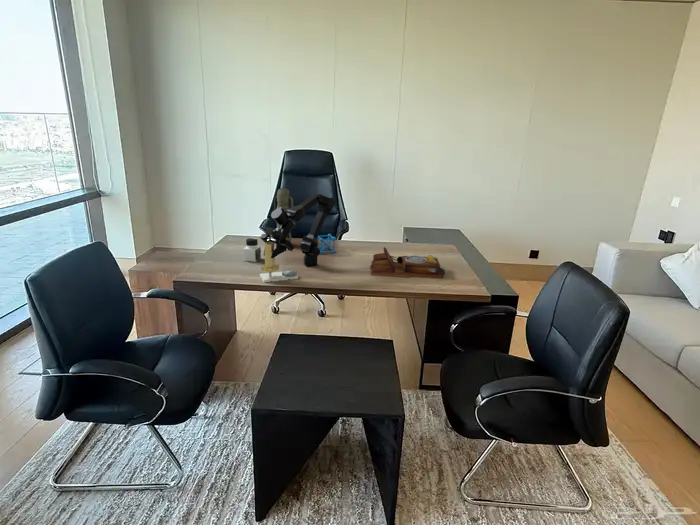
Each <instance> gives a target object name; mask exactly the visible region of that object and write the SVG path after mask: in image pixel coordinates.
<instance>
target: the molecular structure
mask: <svg viewBox="0 0 700 525" xmlns="http://www.w3.org/2000/svg"><path fill="white" fill-rule="evenodd" d="M323 237H327V238H323ZM336 240H337V237H336V236H332V234H331V233H328V234H326V235H323V234H322V235H318V238H317V241H318V242H320V246H319V245H318V246H317V248H318V249H319V250H320V255H323V254H324V253H326V254H327V253H332V254H335V253H336V249H335V242H336ZM331 242H332V246H331ZM324 249H325V250H326V249H327V250H326V251H325V250H324Z"/></svg>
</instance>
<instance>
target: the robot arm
mask: <svg viewBox="0 0 700 525" xmlns="http://www.w3.org/2000/svg"><path fill="white" fill-rule="evenodd" d="M335 204H336V201H335V199H334V198H333V197H328V196H325V195H323V194H322V193H316V192H314V193H313V194H312V195H311V196H310V197H308V198H306V199H305V200H304V201H302V202H301V203H299V205H295V206H294V205H293V207H291V206H290V208H289V209H288V210H287V211H284V209H283V208H282V207H279V208H278V209H276V210H274V209H273V211H272V212H271V213H270V217H271V218H272V219H273V220H274V221H275V223H276V224H279V225H280V227H279V228H277V227H276V228H273V227H269V226H267V228H266V230H265V233H262V234H261V235H260V237H259V238H260V239H261V241H263V242H264V244H265V243H267V242H273V243H274V245H275V247H274V252H273V254H272V256H271V258H272V259H273V258H274V257H275V258H276V257H277V256H279V255H280V254H284V253H285V252H287V251H289V252H293V250H294V249H295V246H294V244H293V243H292V241H291V242H290V241H288V240H286V238H289V237H290V236H289V233H292V232H291V231H292V230H293V228H294V229H297V228H298V226H297V222H300V221H301V220H302V219H303V218H304V217H305V214H306V213H307V212H308V211H309V210H310V209H312V208H314V206H316V205H317V209H318V211H317V213H316V216H315V218H314V220H313V223H312V225H311V228H310V231H309V233H308V234H307V235H306V236H303V237H302V239H301V241H300V246H299V247H300V249H301V252H302V254H304V256H303V265H304V266H305V267H306V268H310V267H311V268H312V267H319V264H318V257H319V255H321V254H320V251H321V249H318V248H317V246H318V247H319V240H318V241H317V238H318V235H319V234H320V232H321V230H322V229H323V228H322V227H323V225H324V223H325V220H326V217H327V216H328V214H329V213H330V212H332V210H333V209H334V208H335ZM289 219H290V220H289ZM295 221H296V222H295ZM319 236H320V235H319ZM318 239H319V238H318ZM263 256H264V257H265V249H264V252H263Z"/></svg>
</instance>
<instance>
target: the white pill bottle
mask: <svg viewBox="0 0 700 525" xmlns="http://www.w3.org/2000/svg"><path fill="white" fill-rule="evenodd" d="M258 244H259V243H258V239H257V238H255V237H248V238H247V239H246V240H245V247H243V261H244V262H252V263H253V262H254V263H256V262H258V261H259V260H261V258H262V249H261V248H262V247H261V246H259V245H258Z"/></svg>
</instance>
